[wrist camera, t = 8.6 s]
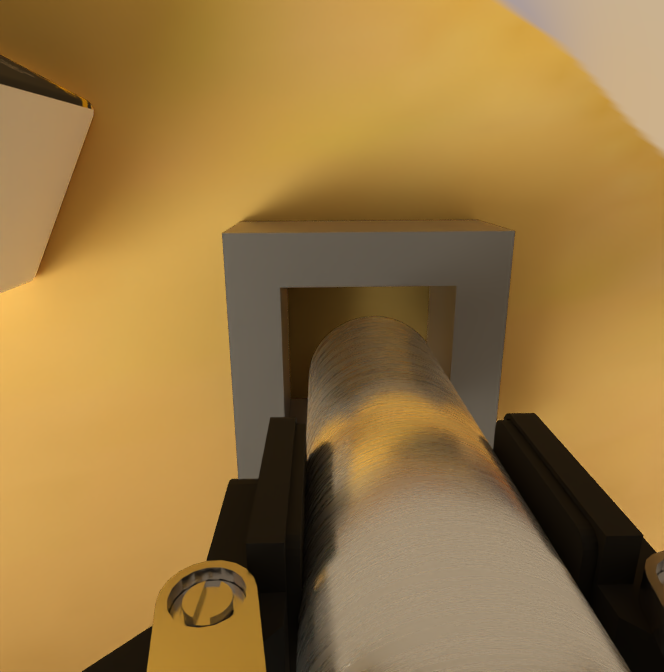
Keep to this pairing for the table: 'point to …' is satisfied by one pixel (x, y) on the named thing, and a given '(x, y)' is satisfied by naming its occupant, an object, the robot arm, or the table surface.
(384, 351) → the steel rod
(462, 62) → the table surface
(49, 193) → the medicine bottle
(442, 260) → the grey square ring
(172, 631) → the robot arm
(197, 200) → the table surface
